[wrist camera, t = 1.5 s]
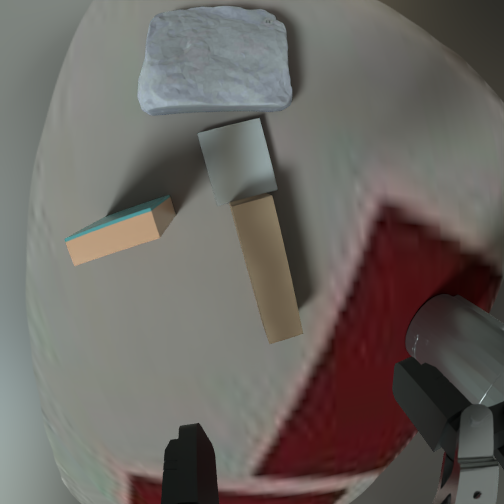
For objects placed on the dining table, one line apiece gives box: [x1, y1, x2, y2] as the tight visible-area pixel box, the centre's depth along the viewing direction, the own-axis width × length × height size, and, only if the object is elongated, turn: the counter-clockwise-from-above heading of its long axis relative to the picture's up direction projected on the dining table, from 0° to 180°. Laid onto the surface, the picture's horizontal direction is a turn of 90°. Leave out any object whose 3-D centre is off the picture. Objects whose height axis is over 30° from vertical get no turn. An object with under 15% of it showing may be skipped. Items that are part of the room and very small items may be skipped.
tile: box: [65, 195, 176, 266], centre depth 19 cm, size 6×2×8 cm, turn 104°
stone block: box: [138, 6, 292, 115], centre depth 19 cm, size 12×5×10 cm
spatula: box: [197, 118, 303, 344], centre depth 23 cm, size 5×18×4 cm, turn 14°
